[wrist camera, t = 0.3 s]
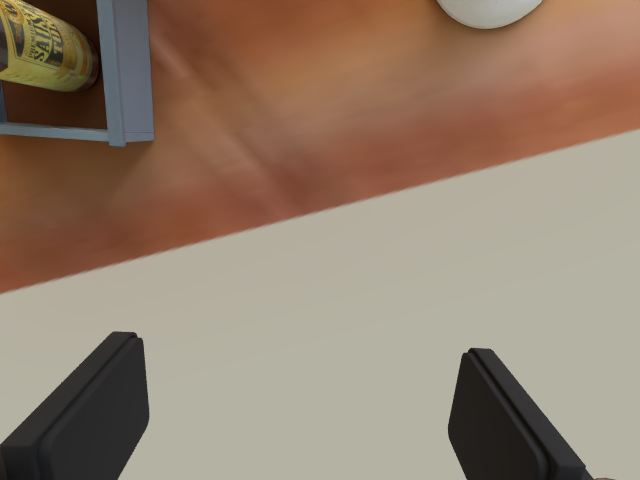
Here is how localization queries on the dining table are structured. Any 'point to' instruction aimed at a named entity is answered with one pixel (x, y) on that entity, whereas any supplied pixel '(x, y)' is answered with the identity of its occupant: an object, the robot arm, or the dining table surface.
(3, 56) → the sauce bottle
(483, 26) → the candlestick
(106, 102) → the blue wooden frame
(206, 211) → the dining table surface
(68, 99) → the dining table surface
